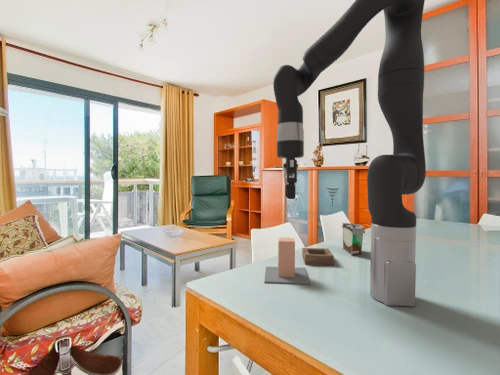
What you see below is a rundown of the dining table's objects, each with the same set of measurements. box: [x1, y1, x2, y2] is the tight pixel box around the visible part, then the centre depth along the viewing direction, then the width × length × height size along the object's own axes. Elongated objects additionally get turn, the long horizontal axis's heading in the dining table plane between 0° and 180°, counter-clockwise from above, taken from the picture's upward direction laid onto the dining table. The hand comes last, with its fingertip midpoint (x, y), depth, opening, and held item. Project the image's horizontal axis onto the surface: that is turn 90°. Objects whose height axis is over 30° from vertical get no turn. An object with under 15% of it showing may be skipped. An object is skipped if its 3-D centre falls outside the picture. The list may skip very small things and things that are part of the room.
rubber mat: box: [264, 266, 311, 285], centre depth 77 cm, size 12×12×1 cm
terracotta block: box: [277, 237, 296, 277], centre depth 77 cm, size 4×4×10 cm
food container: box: [341, 222, 366, 257], centre depth 102 cm, size 12×6×10 cm, turn 179°
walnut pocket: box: [301, 247, 335, 266], centre depth 91 cm, size 9×9×3 cm
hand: (290, 197), depth 77 cm, fingers open, 8 cm apart
